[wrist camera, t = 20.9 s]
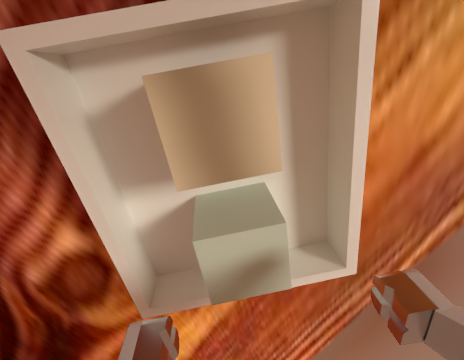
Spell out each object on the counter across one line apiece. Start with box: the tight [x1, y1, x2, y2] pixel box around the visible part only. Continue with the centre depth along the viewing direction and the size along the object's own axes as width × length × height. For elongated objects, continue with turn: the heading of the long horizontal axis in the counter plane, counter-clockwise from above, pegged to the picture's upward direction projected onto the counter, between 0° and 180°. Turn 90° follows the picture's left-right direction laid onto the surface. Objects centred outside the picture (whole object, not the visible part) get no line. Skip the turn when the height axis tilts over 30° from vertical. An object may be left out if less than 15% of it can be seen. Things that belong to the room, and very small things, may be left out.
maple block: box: [142, 52, 282, 192], centre depth 12 cm, size 5×5×5 cm
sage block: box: [192, 182, 292, 305], centre depth 16 cm, size 5×5×5 cm
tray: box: [0, 0, 380, 319], centre depth 15 cm, size 16×18×4 cm
